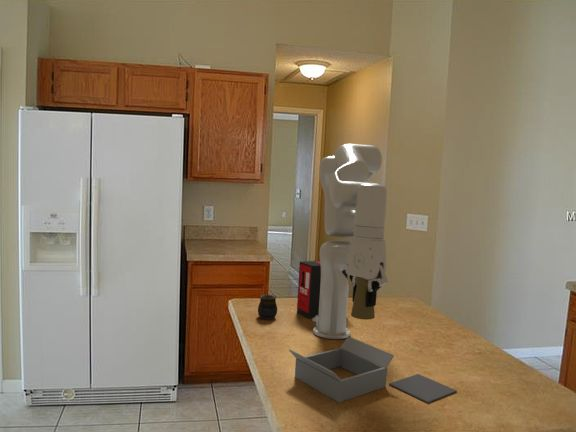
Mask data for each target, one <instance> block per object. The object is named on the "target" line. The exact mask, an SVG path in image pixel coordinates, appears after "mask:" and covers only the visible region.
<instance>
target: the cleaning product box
mask: <svg viewBox="0 0 576 432" xmlns="http://www.w3.org/2000/svg"><path fill="white" fill-rule="evenodd" d="M298 268H299V269H298V285H297V286H298V287H297V303H296V304H297V305H296V313H297V314H298V315H301V316H302V317H305V318H306V319H309V320H312V319H313V318H315V316H316V315H319V301H320V284H321V264H320V260H308V261H307V260H306V261H299V267H298ZM342 273H343V274H344V276H345V277H346V278H347V279H348V277H349V276H348V275H347V274H346V270H342Z"/></svg>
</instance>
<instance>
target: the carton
mask: <svg viewBox="0 0 576 432" xmlns="http://www.w3.org/2000/svg"><path fill="white" fill-rule="evenodd" d="M288 352H290V353H291V354H292V356H293V357H294V358H295V367H294V368H295V369H294V378H295V379H297V380H299V381H301V382H302V383H304V384H306V385H308V386H310V387H311V388H313V389H314V390H316V391H319V392H320V393H321V394H323V395H325V396H327V397H328V398H330V399H332V400H334V401H335V402H337V403H341V402H344V401H347V400H350V399H353V398H356V397H358V396H362V395H365V394H368V393H371V392H374V391H376V390H377V391H378V390H380V389H383V388H386V385H387V383H386V382H387V374H388V372H387V371H388V367H389V365H390V363H391V362H392V360H393V358H394V357H395V355H394V354H392V353H390V352H387V351H385V350H383V349H380V348H377V347H375V346H373V345H371V344H368V343H366V342H364V341H362V340H358V339H356V338H353V337H351V336H348V337H347V338H345V340H344V341H343V343H342V345H341V346H340V348H335V349H331V350H326V351H322V352H319V353H318V352H317V353H314V354H310V355H309V354H308V355H306V356H305V355H304V356H303V355H302V354H300V353H298V352H296V351H294V350H292V349H288ZM339 367H341V368H343V369H345V370H347V371H349V372H351V373H353V374H355V375H351V376H349V377H346V378H341V379H340V377H339V376H338V375H337V374H336V373H335V372H334V371H333V370H332V369H336V368H339Z"/></svg>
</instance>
